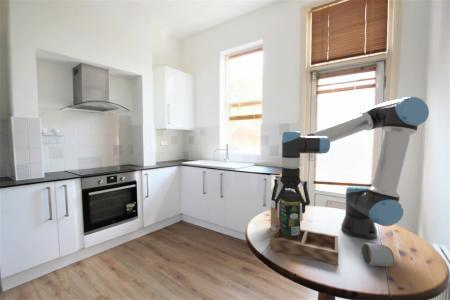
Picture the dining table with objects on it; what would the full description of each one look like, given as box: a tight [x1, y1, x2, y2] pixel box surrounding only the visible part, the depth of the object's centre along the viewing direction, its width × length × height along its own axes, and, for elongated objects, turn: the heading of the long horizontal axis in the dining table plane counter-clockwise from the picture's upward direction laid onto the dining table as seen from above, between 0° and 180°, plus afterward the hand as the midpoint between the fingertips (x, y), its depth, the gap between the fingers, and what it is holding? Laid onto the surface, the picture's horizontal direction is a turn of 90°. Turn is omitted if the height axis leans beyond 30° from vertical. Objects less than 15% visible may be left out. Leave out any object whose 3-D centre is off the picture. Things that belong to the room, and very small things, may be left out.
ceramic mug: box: [360, 242, 395, 268], centre depth 82 cm, size 11×8×8 cm
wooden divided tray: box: [269, 225, 339, 267], centre depth 92 cm, size 26×15×5 cm, turn 63°
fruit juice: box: [270, 174, 289, 232], centre depth 112 cm, size 9×9×28 cm
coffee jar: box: [280, 189, 301, 237], centre depth 95 cm, size 10×8×19 cm
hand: (289, 218), depth 95 cm, fingers closed on coffee jar, 9 cm apart
